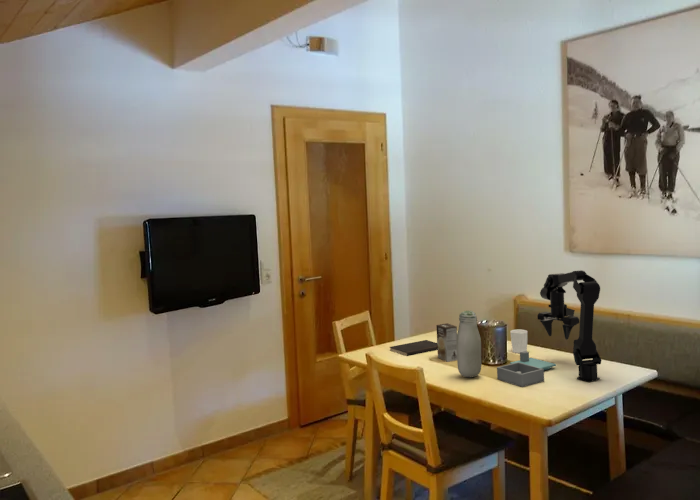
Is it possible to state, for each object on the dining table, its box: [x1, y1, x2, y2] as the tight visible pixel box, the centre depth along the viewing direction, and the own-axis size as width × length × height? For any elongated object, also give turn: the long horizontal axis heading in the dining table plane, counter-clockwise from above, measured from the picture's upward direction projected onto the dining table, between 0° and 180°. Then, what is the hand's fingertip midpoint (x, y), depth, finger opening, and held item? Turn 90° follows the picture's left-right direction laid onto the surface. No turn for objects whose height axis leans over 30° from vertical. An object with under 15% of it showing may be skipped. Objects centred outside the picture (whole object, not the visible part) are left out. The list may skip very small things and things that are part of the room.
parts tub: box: [496, 362, 545, 388], centre depth 247 cm, size 14×12×5 cm
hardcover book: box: [389, 339, 438, 357], centre depth 309 cm, size 16×23×2 cm
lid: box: [509, 351, 557, 371], centre depth 263 cm, size 15×13×6 cm
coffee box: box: [436, 323, 458, 363], centre depth 286 cm, size 9×6×16 cm
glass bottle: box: [456, 310, 482, 378], centre depth 255 cm, size 10×10×28 cm
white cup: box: [509, 329, 528, 354], centre depth 292 cm, size 8×8×10 cm
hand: (558, 337), depth 265 cm, fingers open, 9 cm apart
